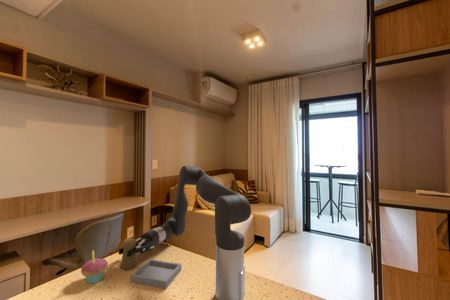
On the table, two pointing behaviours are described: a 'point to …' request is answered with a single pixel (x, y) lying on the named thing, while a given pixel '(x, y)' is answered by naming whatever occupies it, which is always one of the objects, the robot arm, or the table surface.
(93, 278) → the cupcake
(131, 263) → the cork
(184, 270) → the table surface
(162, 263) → the gray tray
